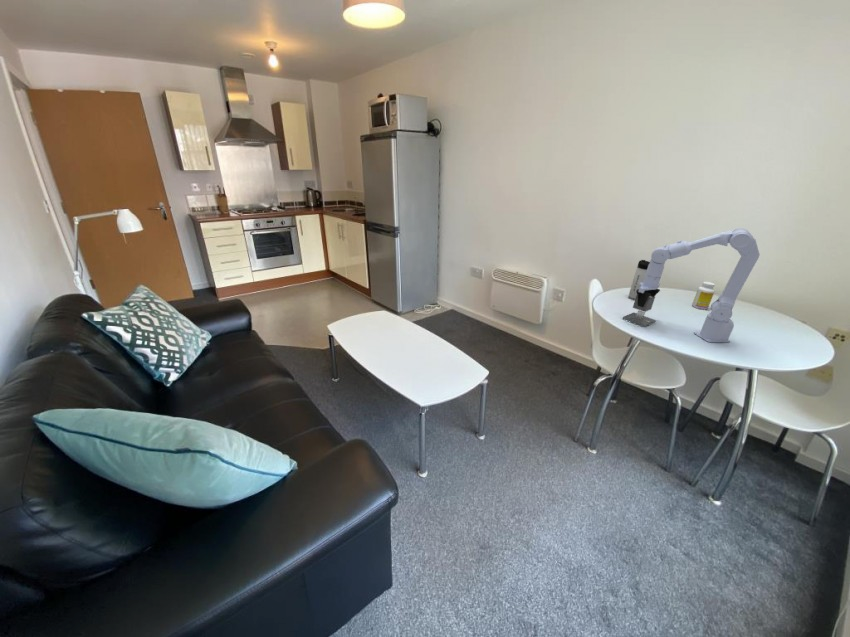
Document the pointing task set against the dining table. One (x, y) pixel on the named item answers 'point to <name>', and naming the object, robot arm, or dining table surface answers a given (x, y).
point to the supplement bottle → (704, 296)
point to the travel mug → (638, 278)
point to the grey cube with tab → (647, 305)
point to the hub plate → (639, 319)
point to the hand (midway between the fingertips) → (643, 304)
